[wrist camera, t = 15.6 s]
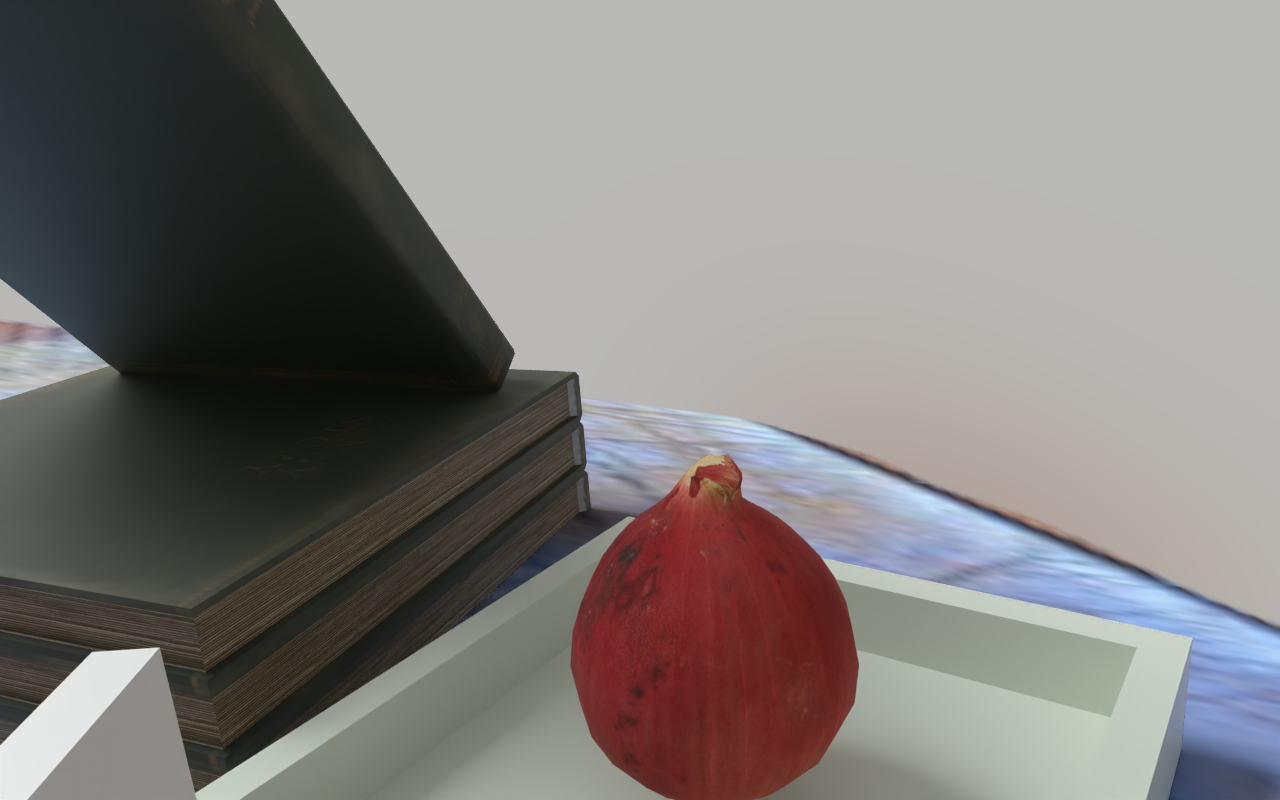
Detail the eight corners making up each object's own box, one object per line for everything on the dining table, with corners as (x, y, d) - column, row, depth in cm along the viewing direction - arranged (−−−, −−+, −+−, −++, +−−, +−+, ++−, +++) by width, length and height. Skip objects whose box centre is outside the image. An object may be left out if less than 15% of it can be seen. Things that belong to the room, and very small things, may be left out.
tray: (979, 1529, 11) (988, 1350, 10) (188, 938, 20) (157, 817, 19) (1181, 748, 24) (1192, 638, 23) (635, 599, 33) (628, 516, 32)
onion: (625, 938, 18) (587, 542, 16) (565, 752, 23) (530, 437, 21) (909, 858, 20) (911, 483, 17) (791, 700, 25) (780, 398, 23)
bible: (593, 515, 40) (530, -166, 33) (240, 844, 23) (-50, -419, 16) (180, 472, 49) (59, -73, 42) (-295, 687, 32) (-638, -172, 25)
